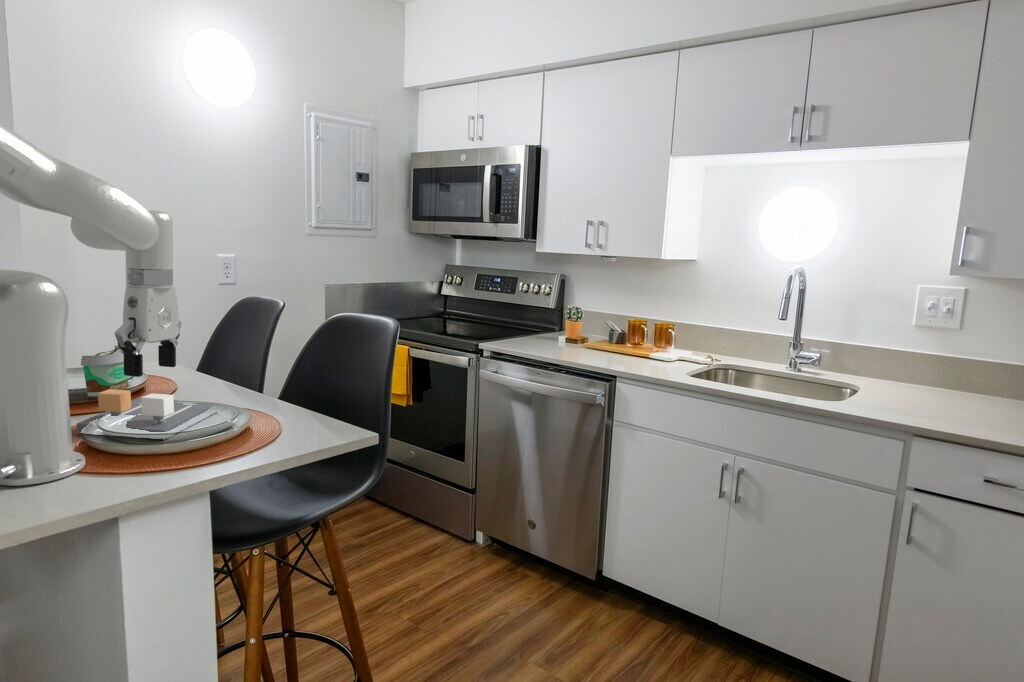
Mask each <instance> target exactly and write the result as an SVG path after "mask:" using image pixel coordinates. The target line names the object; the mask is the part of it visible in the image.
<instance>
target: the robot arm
mask: <svg viewBox="0 0 1024 682" xmlns="http://www.w3.org/2000/svg"><path fill="white" fill-rule="evenodd" d="M0 194H1V195H3V196H5V197H7V198H8V199H10V200H11V201H14V202H17V203H20V204H22V205H25V206H28V207H30V208H35V209H38V210H43V211H47V212H52V213H56V214H59V215H63V216H66V217H68V218H71V220H70V230H71V232H72V235H73V237H75V239H76V240H77V241H78V242H80V243H81V244H82V245H84V246H87V247H88V248H92V249H97V250H108V251H119V252H120V251H122V252H125V292H124V300H123V308H122V325H121V326H119V327H118V329H116V330H115V331H114V336H115V339H116V341H117V346H119V347H120V349H121V353H122V354H124V375H125V376H128V377H137V378H139V377H142V376H143V375H144V373H143V372H144V370H143V368H144V365H143V363H144V362H143V361H144V360H143V354H141V351H142V349H143V347H144V345H145V343H148V344H152V343H153V344H155V343H157V342H158V343H159V344H160V345H158V351H157V352H158V356H157V357H158V366H159V367H167V368H175V367H177V346H178V339H179V338H180V335H181V334H180V331H181V328H182V321H180V320H179V319H180V317H179V306H178V304H179V303H178V299H177V298H178V296H177V292H176V288H175V286H174V233H173V232H174V224H173V223H174V222H173V218H172V216H171V214H169V213H168V212H166V211H161V210H153V209H152V210H151V209H148V208H146V206H144V205H143V204H142V203H140V202H139V201H137V200H136V199H135V198H133V197H131V195H129V194H127V193H126V192H124V190H121V189H119V188H118V187H117V186H115V185H113V184H111V183H109V182H107V181H105V180H103V179H102V178H99V177H97V176H95V175H93V174H90V173H89V172H86V171H84V170H81V169H80V168H78V167H75V166H74V165H72V164H69V163H67V162H64V161H62V160H60V159H57V158H55V157H54V156H52V155H51V154H48V153H46V151H43V150H42V149H41V148H39V147H37V145H35V144H33V143H32V142H30V141H29V140H27V139H26V138H24V137H23V136H21V135H20V134H18V133H17V132H15V131H14V130H13V129H11V128H9V127H8V126H6V125H5V124H4V123H2V122H1V121H0ZM69 309H70V307H69V301H68V297H67V294H66V293H65V291H64V290H63V288H62V287H61V285H59V284H58V283H57V282H56V281H55V280H53V279H51V278H49V277H48V276H45V275H42V274H40V273H36V272H30V271H23V270H22V271H21V270H15V269H14V270H13V269H0V486H8V487H12V486H13V487H16V486H17V487H22V486H29V485H39V484H44V483H48V482H53V481H56V480H60V479H63V478H66V477H69V476H71V475H73V474H76V473H77V472H79V471H81V470H82V469H83V468H84V467H85V465H86V456H84V454H83V453H80V452H78V451H74V448H73V447H74V446H73V435H72V422H71V411H70V409H71V408H70V397H69V386H68V384H69V383H68V373H67V362H66V334H67V333H66V332H67V327H68V326H67V325H68V320H69Z"/></svg>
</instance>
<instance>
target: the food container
mask: <svg viewBox="0 0 1024 682" xmlns="http://www.w3.org/2000/svg"><path fill="white" fill-rule="evenodd" d="M80 366H82V368H83V373H84V380H85V388H86V393H87V400H91V401H92V400H93V401H94V400H97V401H98V393H100V392H103V391H106V390H108V389H112V390H125V391H128V382H129V381H128V379H129V376H125V375H124V354H122V353H121V349H120V347H119V346H118V345H114V349H111V350H109V351H101V352H98V353H96V354H95V355H81V358H80Z"/></svg>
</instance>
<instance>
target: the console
mask: <svg viewBox="0 0 1024 682" xmlns="http://www.w3.org/2000/svg"><path fill="white" fill-rule="evenodd" d="M173 400H174V412H173V413H171V414H169V415H167V416H165V417H164V419H162V420H160V421H158V420H154V418H153V416H150V415H141V414H142V404H141V397H139V398H136V399H133V400H131V408H130V409H128V410H125V411H123V412H121V415H134V416H135V415H136V416H135V417H133V418H132V419H131V420H129V421H127V424H126V427H127V428H131V429H139V430H146V431H149V432H167V431H170V430H172V429H174V428H176V427H178V426H179V425H182V424H183V423H185V422H187V421H189V420H190V419H192V418H194V417H196V416H198V415H200V414H202V413H204V412H206V411H207V410H208V409H210V408H211V407H212V406H214V405H216V404H217V405H218V403H215V402H206V401H205V402H203V401H198V402H199V403H193V404H197V405H192V406H189V405H183V403H177V402H185V401H186V402H193V401H191V400H178V399H177V400H175V399H173ZM107 414H111V413H110V411H103V412H102V413H99V414H97V415H93V416H91V417H89V418H86V419H84V420H82V421H79V422H76V429H77V430H76V431H77V435H78V434H79V435H81V434H80V432H81V430H82V429H83V428H84V427H86V426H87V425H88V424H89V423H90V422H92V421H94V420H96V419H99V418H101V417H103V416H105V415H107ZM138 414H140V415H138Z"/></svg>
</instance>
